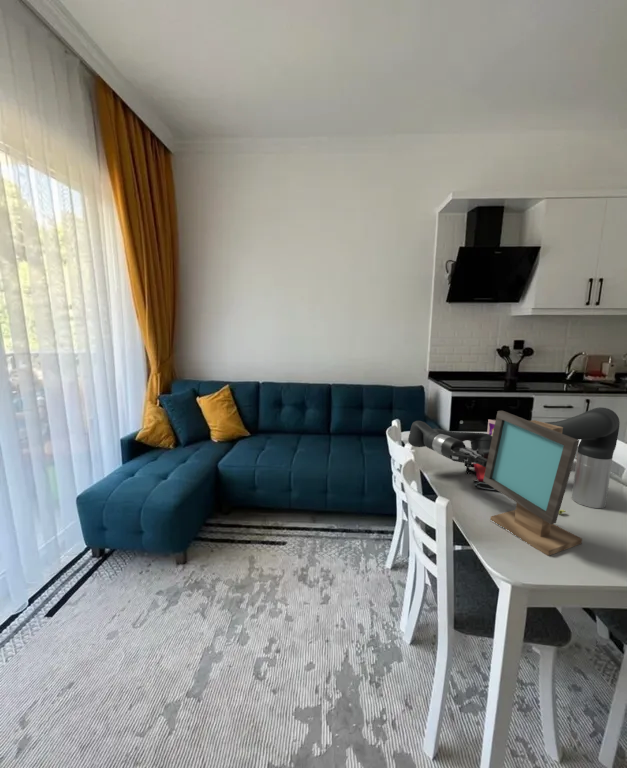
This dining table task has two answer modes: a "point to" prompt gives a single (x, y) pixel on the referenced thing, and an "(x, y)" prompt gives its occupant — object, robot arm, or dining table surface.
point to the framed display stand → (537, 524)
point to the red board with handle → (479, 476)
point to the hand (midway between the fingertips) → (488, 464)
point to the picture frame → (530, 464)
